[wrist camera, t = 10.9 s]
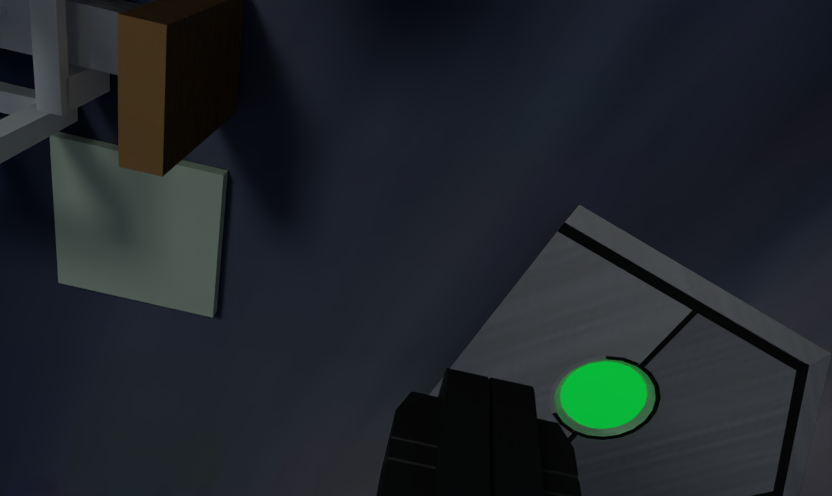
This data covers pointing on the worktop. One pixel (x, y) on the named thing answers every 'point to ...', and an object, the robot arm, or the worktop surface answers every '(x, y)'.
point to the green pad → (137, 226)
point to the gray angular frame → (46, 85)
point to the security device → (653, 370)
